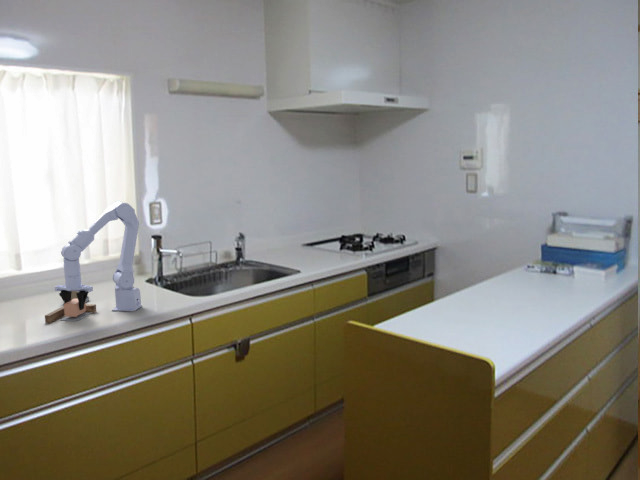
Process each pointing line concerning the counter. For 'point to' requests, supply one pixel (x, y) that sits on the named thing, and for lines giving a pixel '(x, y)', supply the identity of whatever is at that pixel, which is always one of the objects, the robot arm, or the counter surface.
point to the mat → (76, 317)
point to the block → (73, 308)
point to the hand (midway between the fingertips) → (75, 309)
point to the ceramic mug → (74, 296)
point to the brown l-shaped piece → (60, 313)
